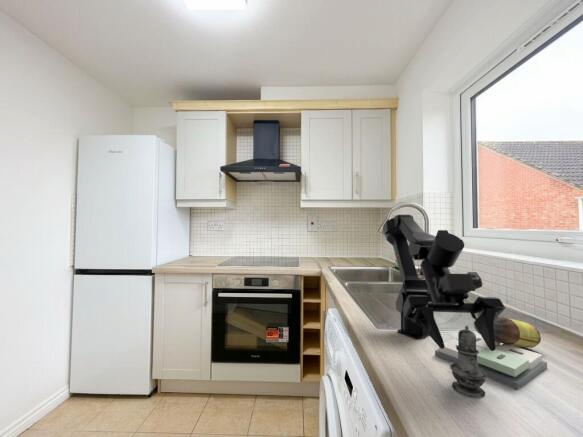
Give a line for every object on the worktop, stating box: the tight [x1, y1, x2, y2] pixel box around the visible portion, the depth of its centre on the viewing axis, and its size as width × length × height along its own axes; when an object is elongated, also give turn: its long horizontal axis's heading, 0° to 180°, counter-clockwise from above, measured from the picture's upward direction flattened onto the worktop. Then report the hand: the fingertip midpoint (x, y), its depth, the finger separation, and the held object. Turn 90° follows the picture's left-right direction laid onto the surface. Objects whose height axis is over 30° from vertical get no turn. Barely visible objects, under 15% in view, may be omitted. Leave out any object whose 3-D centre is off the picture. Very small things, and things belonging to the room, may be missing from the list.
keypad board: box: [434, 334, 548, 390], centre depth 62 cm, size 16×16×3 cm
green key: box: [477, 348, 529, 377], centre depth 56 cm, size 7×7×3 cm
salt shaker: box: [449, 325, 488, 399], centre depth 51 cm, size 6×6×12 cm
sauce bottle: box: [473, 316, 542, 349], centre depth 66 cm, size 7×6×20 cm
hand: (468, 349), depth 51 cm, fingers open, 9 cm apart
